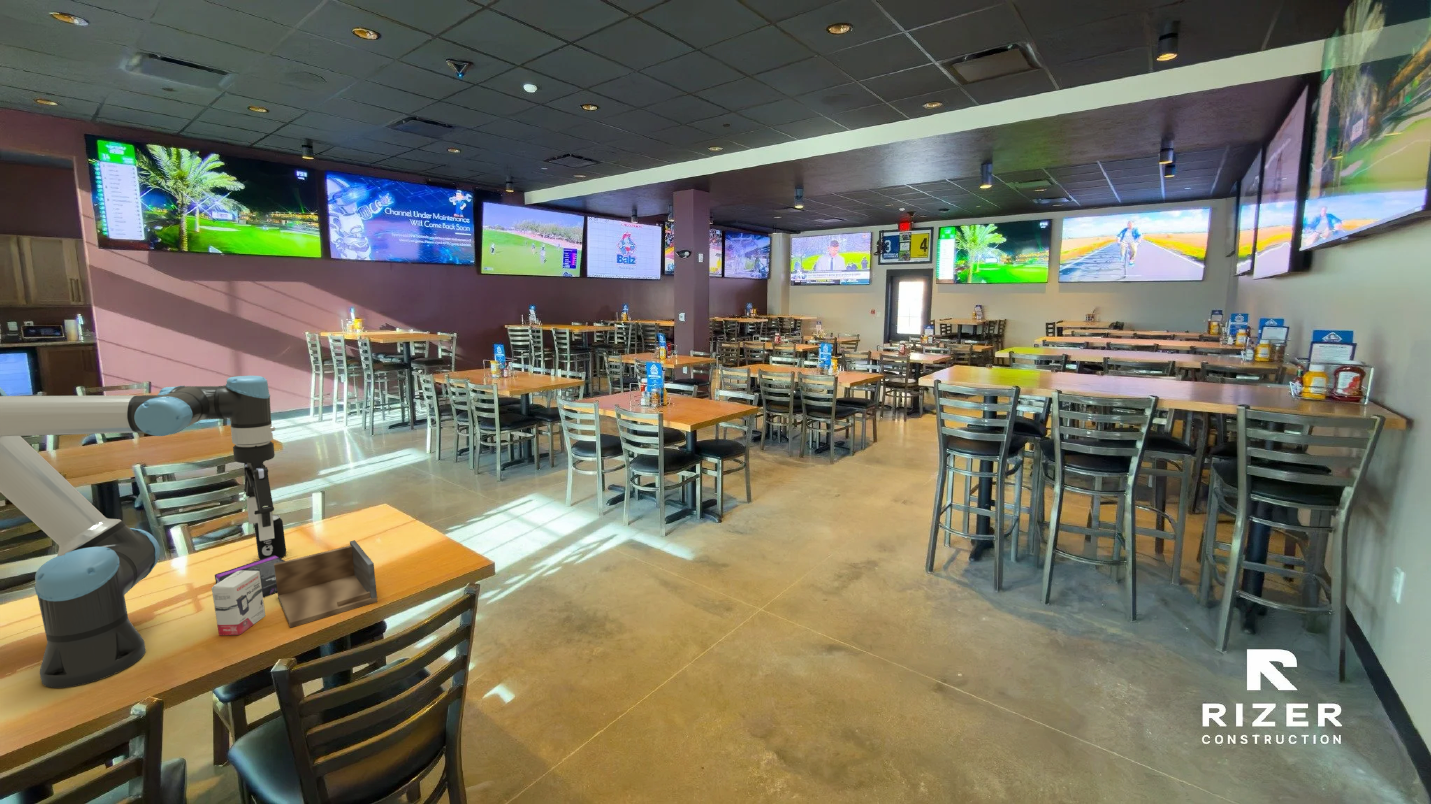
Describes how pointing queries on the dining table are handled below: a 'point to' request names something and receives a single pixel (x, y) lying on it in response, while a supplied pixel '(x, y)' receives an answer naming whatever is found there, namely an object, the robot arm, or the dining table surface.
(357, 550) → the shelf
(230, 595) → the ink box
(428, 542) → the dining table surface
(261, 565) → the box
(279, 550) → the beverage can
